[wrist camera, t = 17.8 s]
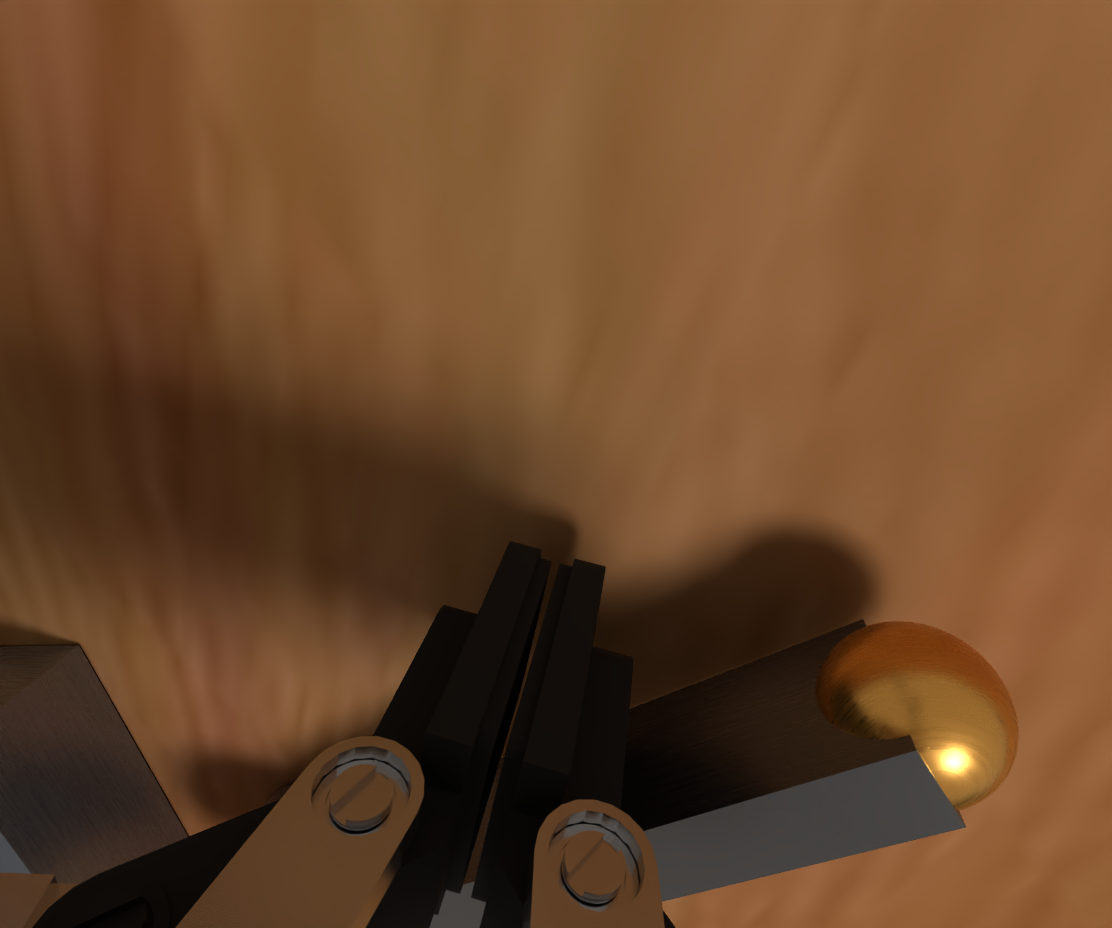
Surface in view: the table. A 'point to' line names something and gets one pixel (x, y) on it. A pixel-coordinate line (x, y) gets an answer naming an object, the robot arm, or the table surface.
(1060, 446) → the table surface
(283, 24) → the table surface
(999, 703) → the lever
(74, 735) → the block
